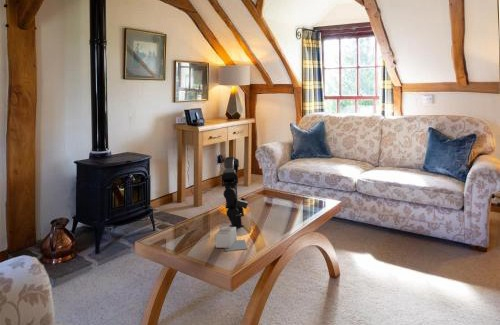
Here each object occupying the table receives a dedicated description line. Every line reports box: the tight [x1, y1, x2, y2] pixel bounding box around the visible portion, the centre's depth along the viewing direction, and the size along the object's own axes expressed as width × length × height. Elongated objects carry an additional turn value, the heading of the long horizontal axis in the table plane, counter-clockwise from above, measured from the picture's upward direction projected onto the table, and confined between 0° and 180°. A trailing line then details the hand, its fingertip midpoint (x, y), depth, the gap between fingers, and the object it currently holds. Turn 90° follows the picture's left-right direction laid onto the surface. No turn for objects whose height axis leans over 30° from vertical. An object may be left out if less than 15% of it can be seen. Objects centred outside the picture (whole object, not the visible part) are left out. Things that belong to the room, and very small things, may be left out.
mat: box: [224, 239, 248, 252], centre depth 204 cm, size 14×11×1 cm
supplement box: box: [214, 226, 238, 249], centre depth 206 cm, size 7×7×13 cm
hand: (233, 224), depth 211 cm, fingers closed
